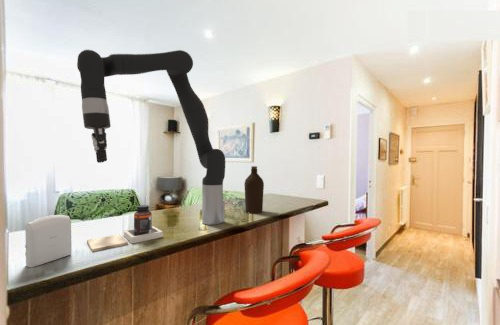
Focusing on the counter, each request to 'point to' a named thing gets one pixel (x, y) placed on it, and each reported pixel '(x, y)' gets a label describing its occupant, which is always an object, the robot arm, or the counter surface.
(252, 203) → the olive oil
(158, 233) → the white square tray
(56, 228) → the photo printer
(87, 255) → the counter surface
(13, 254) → the counter surface
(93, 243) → the pad
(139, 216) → the supplement bottle
